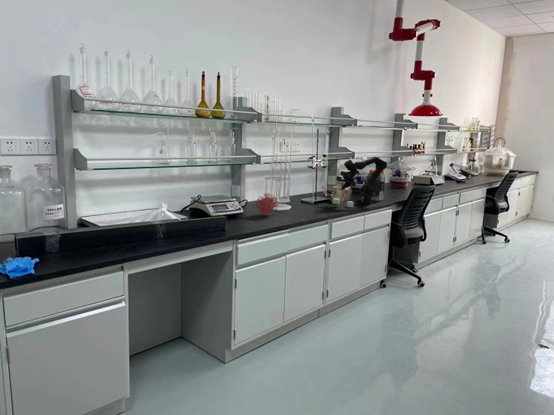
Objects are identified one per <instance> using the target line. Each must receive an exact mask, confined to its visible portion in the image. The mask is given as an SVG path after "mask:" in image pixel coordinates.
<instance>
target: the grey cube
mask: <svg viewBox="0 0 554 415" xmlns="http://www.w3.org/2000/svg"><path fill="white" fill-rule="evenodd" d="M346 207H348V208H354V201H351V200H350V201H348V200H346Z"/></svg>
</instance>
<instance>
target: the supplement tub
mask: <svg viewBox="0 0 554 415" xmlns="http://www.w3.org/2000/svg"><path fill="white" fill-rule="evenodd" d="M374 171H375V169H374V168H373V169H369V171H368V172H369V173H368V174H367V175H366V183H365V184H367V182H368V181H369V179H370V178H371V176H372V174H373V173H374ZM385 186H386V176H385V169H384V170H383V171H382V172H381V173H380V174H379V176H378V178H377V179H376V181H375V183H374V184H373V186H372V193H373V197H371V201H379V202H380V201H382V200H384V194H385Z"/></svg>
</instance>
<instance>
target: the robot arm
mask: <svg viewBox="0 0 554 415" xmlns="http://www.w3.org/2000/svg"><path fill="white" fill-rule="evenodd" d="M373 164H374V165H375V171H374V173H373V174H372V176H371V178H370V179H369V181H368V182H367V181H366V182H367V184H366V183H365V184H364V183H363V184H362V186H361V188H360V193H361V194H360V195H361V196H362V199H361V204H363V205H372V200H371V197H373V193H372V186H373V184H374V183H375V181H376V179H377V178H378V176H379V174H380V173H381V172H382V171H383V170H384V171H385V170H386V168H387V166H388V163H387V161H384V160H383V159H382V158H379V157H378V156H373V157H371V158H368V159H365V160H361V161H355V162H353V160H352V159H349V160H347V161H345V162H344V164H343V167H345V169H346V170H347V171H344V170H340V172H339V175H340V176H338V175H337V176H336V178H335V179H336V181H337V182H345V184H344V185H343V187H342V188H341V190H343V189H345V188H348V189H349V188H351V187H355V186H356V185H357V182H356V181H355V176H356V175H360V171H359V170H361V171H362V170H363V169H365V168H366V167H367V166H369V165H373Z"/></svg>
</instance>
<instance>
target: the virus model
mask: <svg viewBox="0 0 554 415" xmlns="http://www.w3.org/2000/svg"><path fill="white" fill-rule="evenodd" d="M263 195H264V196H259V198H257V200H256V203H255V204H256V205H257V206H256V209H258V212H259V213H260V214H261V215H267V216H272V215H273V213H272V212H271V211H274V210H277V211H278V207H279V201H278V199H277V197H275V195H274V194H272V195H271V194H270V193H268V194H267V193H264V194H263Z"/></svg>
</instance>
